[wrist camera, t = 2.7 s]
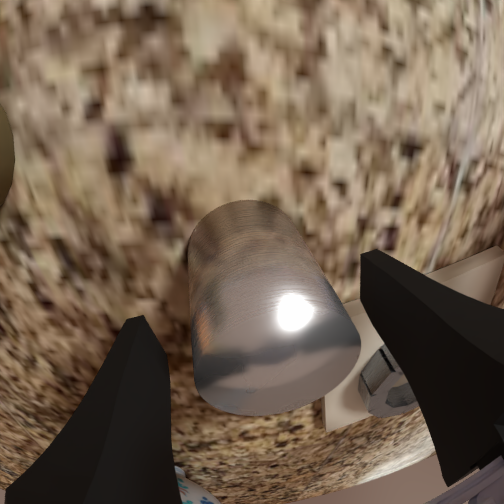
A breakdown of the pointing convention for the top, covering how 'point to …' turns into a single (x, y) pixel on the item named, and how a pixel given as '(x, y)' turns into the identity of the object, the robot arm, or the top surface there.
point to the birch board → (346, 393)
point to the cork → (5, 155)
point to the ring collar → (385, 386)
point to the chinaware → (193, 491)
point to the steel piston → (263, 314)
